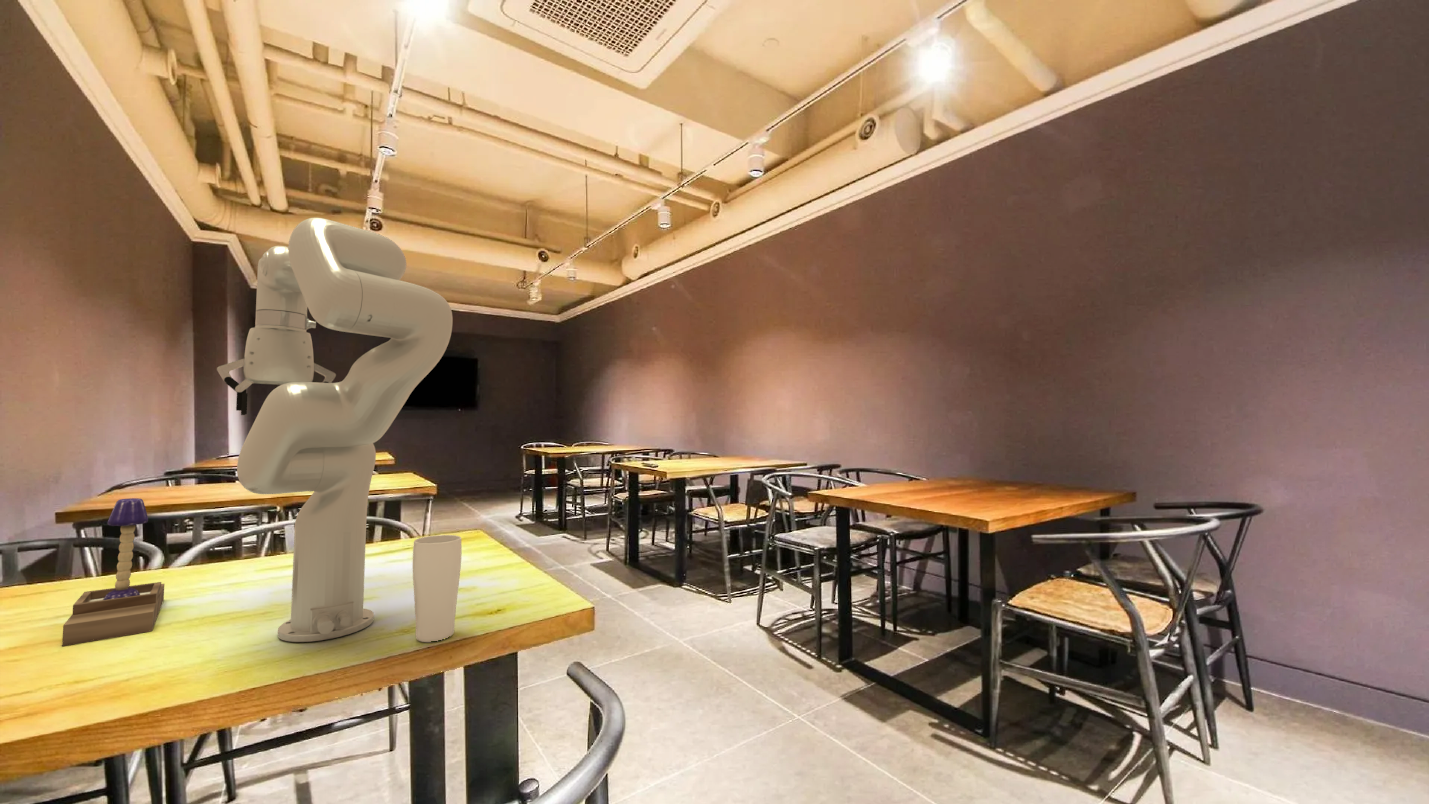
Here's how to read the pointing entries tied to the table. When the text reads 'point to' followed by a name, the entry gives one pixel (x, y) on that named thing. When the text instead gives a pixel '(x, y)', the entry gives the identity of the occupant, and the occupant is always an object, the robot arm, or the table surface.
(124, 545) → the toy lamp
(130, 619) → the display stand
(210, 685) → the table surface
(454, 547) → the drinking glass
